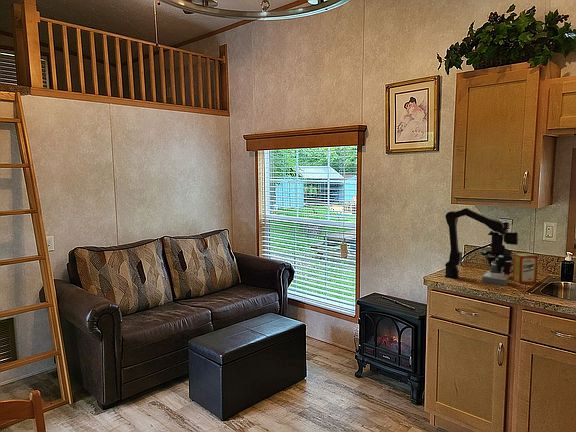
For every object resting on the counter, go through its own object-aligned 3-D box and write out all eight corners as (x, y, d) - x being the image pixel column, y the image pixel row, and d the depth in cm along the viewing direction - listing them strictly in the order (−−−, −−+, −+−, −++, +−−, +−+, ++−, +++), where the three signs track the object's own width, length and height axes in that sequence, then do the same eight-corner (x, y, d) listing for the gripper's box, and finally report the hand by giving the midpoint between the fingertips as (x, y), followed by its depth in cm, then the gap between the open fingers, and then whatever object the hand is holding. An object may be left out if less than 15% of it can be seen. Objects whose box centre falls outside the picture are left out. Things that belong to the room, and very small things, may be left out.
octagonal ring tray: (482, 282, 235) (482, 272, 234) (485, 279, 242) (486, 269, 241) (505, 285, 227) (506, 275, 227) (508, 282, 234) (509, 271, 234)
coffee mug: (491, 275, 250) (492, 259, 249) (502, 274, 253) (502, 258, 252) (507, 280, 239) (508, 263, 238) (518, 278, 242) (519, 262, 241)
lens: (494, 275, 231) (495, 262, 230) (488, 273, 236) (489, 260, 235) (503, 274, 232) (503, 262, 231) (496, 272, 237) (497, 260, 236)
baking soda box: (519, 283, 232) (520, 255, 230) (513, 280, 238) (514, 253, 237) (536, 283, 232) (537, 255, 231) (529, 280, 239) (530, 253, 237)
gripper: (521, 245, 225) (520, 273, 226) (498, 240, 243) (497, 266, 244) (503, 246, 223) (502, 274, 224) (481, 240, 241) (480, 267, 242)
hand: (495, 270), depth 234 cm, fingers closed on lens, 5 cm apart
